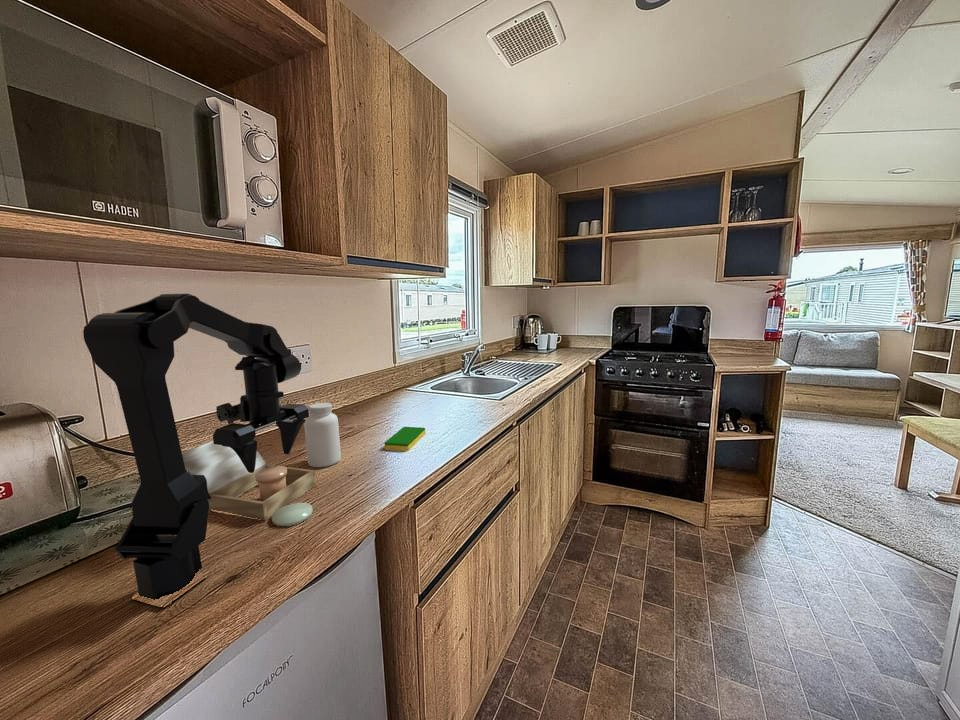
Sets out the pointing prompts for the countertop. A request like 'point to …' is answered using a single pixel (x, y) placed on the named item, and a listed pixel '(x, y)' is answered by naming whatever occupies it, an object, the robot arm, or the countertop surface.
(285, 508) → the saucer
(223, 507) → the cold frame
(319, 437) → the pill bottle
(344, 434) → the countertop surface
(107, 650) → the countertop surface
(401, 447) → the dish sponge
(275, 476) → the tan knob
